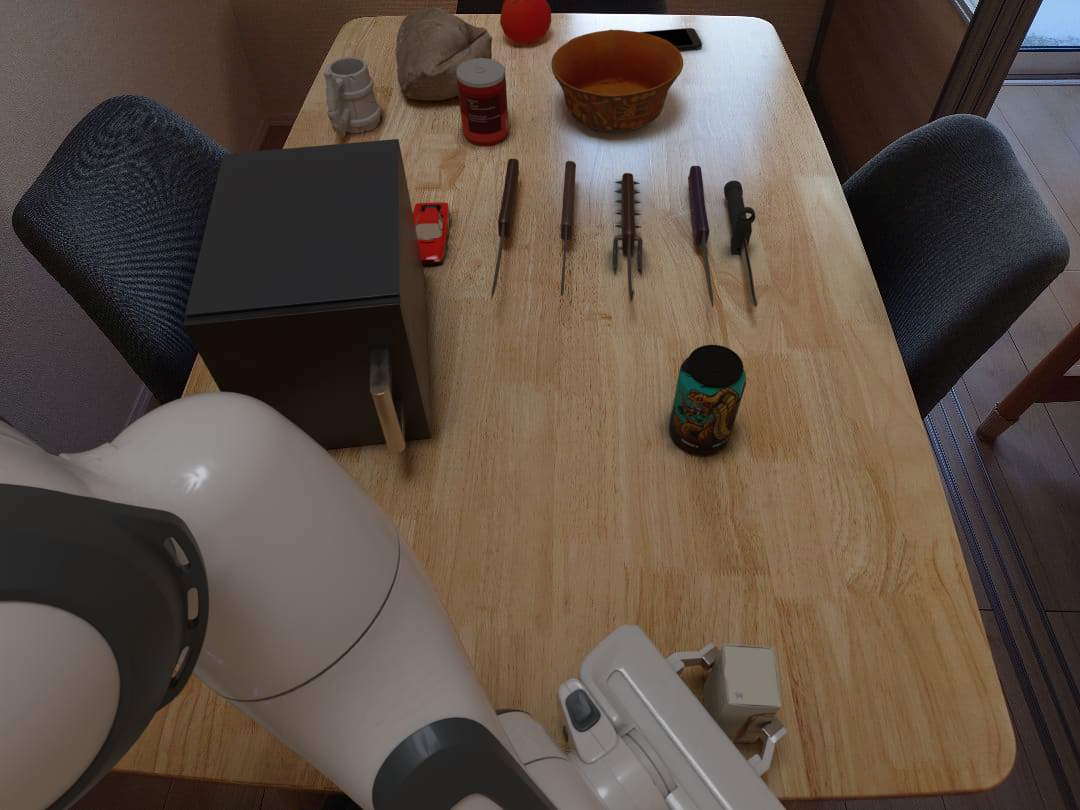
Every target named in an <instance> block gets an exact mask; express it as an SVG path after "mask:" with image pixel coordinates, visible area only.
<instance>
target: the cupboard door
mask: <svg viewBox="0 0 1080 810" xmlns="http://www.w3.org/2000/svg"><path fill="white" fill-rule="evenodd" d="M183 328H184V329H185V331H186V333H187V335H188V337H189V339H190V341H191V342H192V343H193V346H194V347H195V349H196V351H197V353H198V354H199V356H200V358H201V360H202V362H203V363H204V365H205V366H206V368H207V370H208V372H209V374H210V376H211V377H212V379H213V381H214V382H215V385H216V386H217V388H218V390H219V392H233V393H238V394H243V395H247V396H250V397H253V398H256V399H258V400H260V401H262V402H264V403H266V404H267V405H269V406H271V407H272V408H274V409H275V410H277V411H278V412H279V413H281V414H282V415H283V416H285V417H286V418H287V419H288V420H290V421H291V422H292V423H294V424H295V425H296V426H298V427H299V428H300V429H302V430H303V431H304V432H305V433H306V434H308V435H309V436H310V437H311V438H312V439H313V440H315V441H316V442H317V443H318V444H319V445H321V446H322V447H323V448H324V449H325V450H333V449H343V448H349V447H359V446H367V445H368V446H369V445H375V444H377V445H379V444H385V443H386V446H387V449H388V451H389V452H390V453H391V454H394V455H397V454H401V453H402V452H404V451H405V448H406V441H413V440H424V439H431V438H432V429H431V430H430V426H429V421H428V417H427V413H426V408H425V404H424V400H423V395H422V391H421V387H420V382H419V378H418V374H417V370H416V365H415V361H414V357H413V352H412V348H411V344H410V339H409V335H408V331H407V326H406V322H405V318H404V313H403V309H402V305H401V300H400V297H392V298H382V299H372V300H362V301H352V302H342V303H332V304H322V305H312V306H302V307H292V308H282V309H271V310H261V311H251V312H241V313H231V314H221V315H211V316H201V317H191V318H186V317H184V319H183Z"/></svg>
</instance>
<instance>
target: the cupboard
mask: <svg viewBox="0 0 1080 810" xmlns="http://www.w3.org/2000/svg"><path fill="white" fill-rule="evenodd" d="M401 149H402V148H401V144H400V139H399V138H392V139H391V138H390V139H383V140H382V139H380V140H368V141H356V142H347V143H346V142H345V143H336V144H335V143H333V144H323V145H312V146H302V147H301V146H300V147H289V148H279V149H278V148H277V149H266V150H254V151H245V152H230V153H223V154H222V158H221V162H220V167H219V170H218V171H219V172H218V174H217V179H216V183H215V188H214V192H213V196H212V200H211V204H210V209H209V213H208V218H207V222H206V225H205V229H204V234H203V238H202V241H201V246H200V249H199V250H200V251H199V255H198V258H197V262H196V267H195V270H194V275H193V279H192V283H191V288H190V291H189V296H188V300H187V305H186V309H185V313H184V316H185V318H191V317H201V316H211V315H221V314H231V313H241V312H251V311H261V310H271V309H282V308H292V307H302V306H312V305H322V304H332V303H342V302H352V301H362V300H372V299H382V298H392V297H400V300H401V305H402V309H403V313H404V318H405V322H406V326H407V331H408V335H409V339H410V344H411V348H412V352H413V357H414V361H415V365H416V370H417V374H418V378H419V382H420V387H421V391H422V395H423V400H424V404H425V408H426V413H427V417H428V421H429V426H430V430H431V431H432V425H431V395H430V369H429V342H428V341H429V340H428V339H429V337H428V315H427V313H428V311H427V290H426V289H427V288H426V287H427V286H426V276H425V271H424V265H422V260H421V254H420V249H419V244H418V238H417V233H416V228H415V223H414V217H413V207H412V203H411V198H410V192H409V191H410V190H409V185H408V181H407V175H406V170H405V165H404V161H403V155H402V150H401Z"/></svg>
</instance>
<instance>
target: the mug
mask: <svg viewBox="0 0 1080 810" xmlns="http://www.w3.org/2000/svg"><path fill="white" fill-rule="evenodd" d="M323 76H324V78H325V79H324V80H325V84H326V87H325V93H326V103H327V117H328V119H329V120H330V124H331V125H330V126H331V127H332V129H333V131H334V132H336V133H337V135H338V137H339V138H344V137H345V136H346V132H347V133H351V134H360V133H365V132H370V131H372V130H374V129H375V128H377V127H378V125H379V124H380V122H381V113H382V109H381V106H380V105H379V103H378V102H377V98H376V95H375V91H374V86H375V83H374V80H373V78H372V76H371V75H370V70H369V68H368V64H367V61H366V60H364V59H363V58H360V57H355V56H343V57H339V58H337V59H334V60H333V61H331V63H329V64H328V66H327V71H323Z"/></svg>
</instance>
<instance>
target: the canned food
mask: <svg viewBox="0 0 1080 810" xmlns="http://www.w3.org/2000/svg"><path fill="white" fill-rule="evenodd" d="M456 72H457V74H456V75H457V85H458V94H459V95H458V102H459V109H460V118H461V125H462V127H461V128H462V134H463V135H464V137H465V139H466V140H467V141H468V142H469V143H471V144H473V145H476V146H482V147H483V146H484V147H489V146H494V145H497V144H500V143H501V142H503V141H504V140H505V139H506V138H507V136H508V133H509V110H508V97H507V96H508V94H507V93H508V92H507V77H506V70H505V67H504V65H503V64H502V63H501V62H500V61H498V60H495V59H487V58H477V59H471V60H468V61H466V62H463V63H462V64H461V65H460V66H458V68H457V71H456Z"/></svg>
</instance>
